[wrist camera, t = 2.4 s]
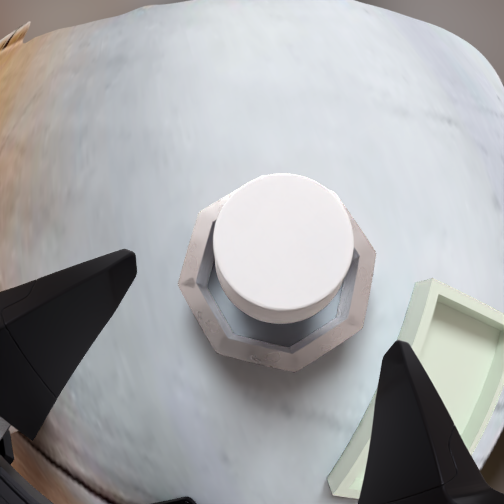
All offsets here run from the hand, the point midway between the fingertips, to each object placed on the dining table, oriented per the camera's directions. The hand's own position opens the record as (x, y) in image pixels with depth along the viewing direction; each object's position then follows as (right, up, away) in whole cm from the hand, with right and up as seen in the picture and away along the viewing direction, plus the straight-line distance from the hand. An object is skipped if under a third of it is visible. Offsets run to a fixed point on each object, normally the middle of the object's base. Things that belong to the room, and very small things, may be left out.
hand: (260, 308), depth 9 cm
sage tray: (+13, -10, +7) cm, 18 cm away
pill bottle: (+1, 0, +10) cm, 11 cm away
